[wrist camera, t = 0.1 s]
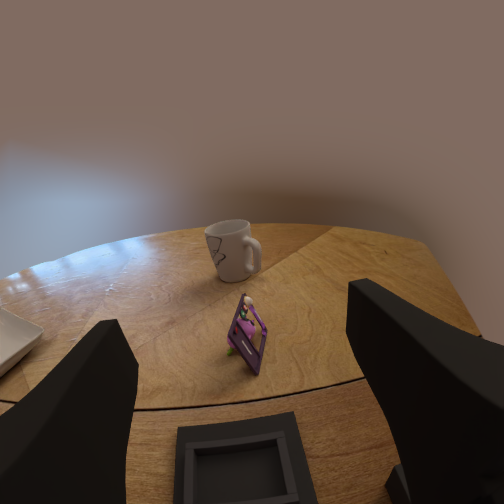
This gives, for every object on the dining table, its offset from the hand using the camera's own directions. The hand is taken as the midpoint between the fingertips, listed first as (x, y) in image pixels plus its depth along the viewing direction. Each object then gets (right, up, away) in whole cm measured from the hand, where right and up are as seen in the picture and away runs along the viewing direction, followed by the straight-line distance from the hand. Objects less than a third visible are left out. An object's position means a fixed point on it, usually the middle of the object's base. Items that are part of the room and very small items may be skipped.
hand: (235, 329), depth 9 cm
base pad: (0, -18, +12) cm, 22 cm away
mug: (-2, -3, +51) cm, 51 cm away
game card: (0, -11, +30) cm, 32 cm away
